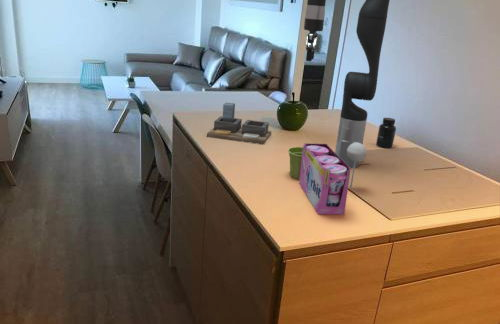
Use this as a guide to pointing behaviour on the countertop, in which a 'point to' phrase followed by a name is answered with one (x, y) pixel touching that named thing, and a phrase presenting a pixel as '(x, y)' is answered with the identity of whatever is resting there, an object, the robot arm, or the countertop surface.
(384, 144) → the supplement bottle
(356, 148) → the lollipop
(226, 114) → the plug
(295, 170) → the plant pot
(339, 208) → the gum box
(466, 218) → the countertop surface
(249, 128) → the socket board
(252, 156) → the countertop surface
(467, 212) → the countertop surface
